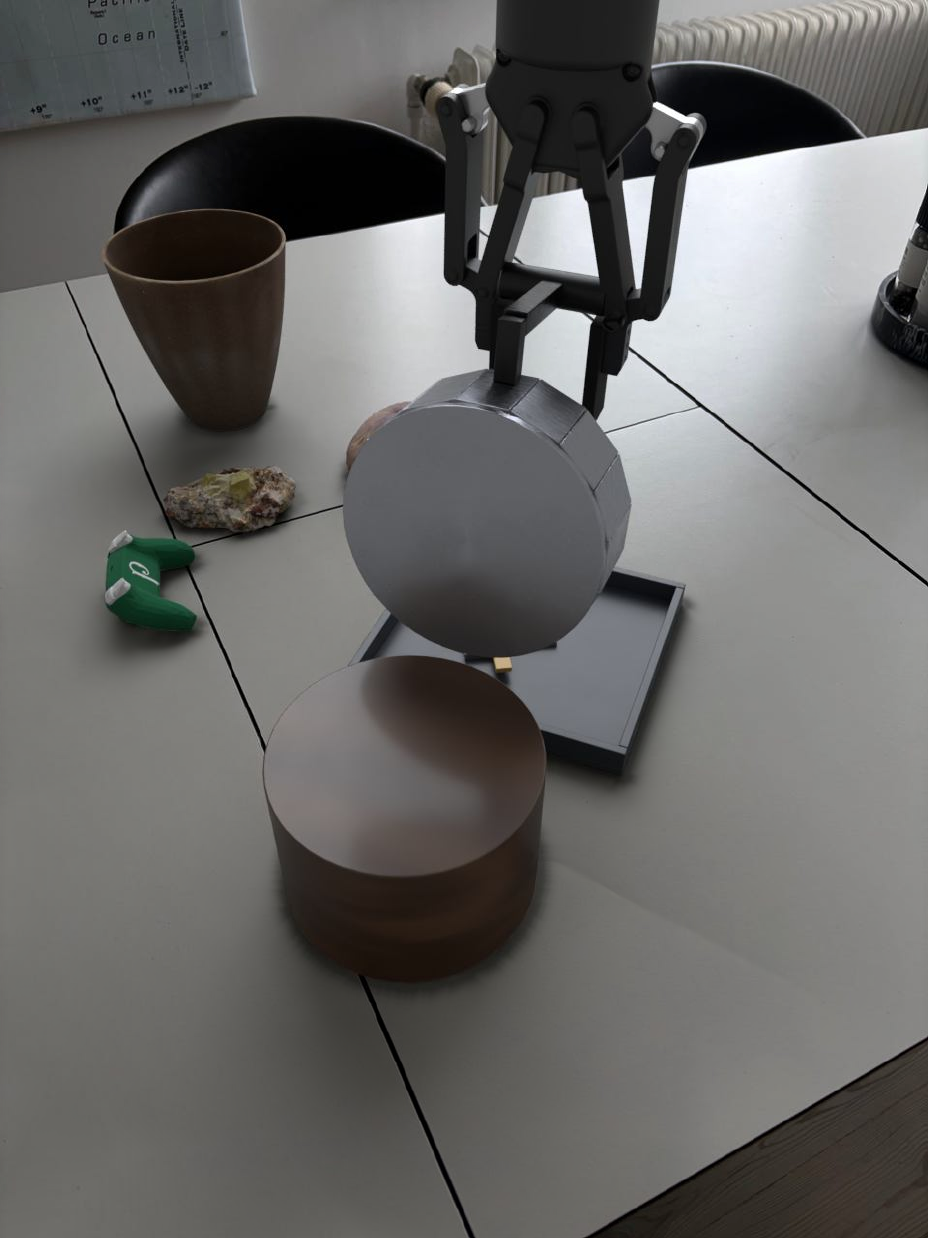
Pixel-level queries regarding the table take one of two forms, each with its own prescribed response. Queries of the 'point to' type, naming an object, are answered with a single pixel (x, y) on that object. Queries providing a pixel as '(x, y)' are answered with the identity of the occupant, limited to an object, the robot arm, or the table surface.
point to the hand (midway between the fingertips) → (545, 406)
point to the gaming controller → (146, 581)
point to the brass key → (502, 665)
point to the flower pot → (205, 307)
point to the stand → (407, 815)
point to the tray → (577, 668)
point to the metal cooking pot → (492, 494)
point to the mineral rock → (232, 499)
